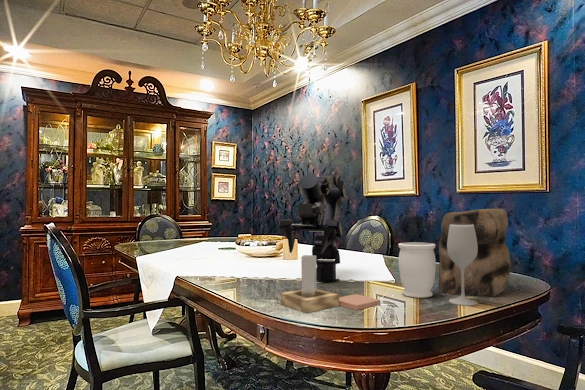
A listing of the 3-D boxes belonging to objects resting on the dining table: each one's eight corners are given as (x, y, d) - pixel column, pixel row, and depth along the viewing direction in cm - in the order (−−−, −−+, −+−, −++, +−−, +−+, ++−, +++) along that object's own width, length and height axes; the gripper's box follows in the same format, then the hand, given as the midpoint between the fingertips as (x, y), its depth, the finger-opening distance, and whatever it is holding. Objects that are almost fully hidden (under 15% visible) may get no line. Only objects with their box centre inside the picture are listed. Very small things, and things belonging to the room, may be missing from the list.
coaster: (355, 298, 112) (355, 294, 112) (380, 304, 105) (380, 299, 105) (332, 303, 107) (332, 298, 107) (356, 310, 100) (356, 305, 100)
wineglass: (482, 306, 102) (480, 225, 103) (450, 305, 104) (449, 225, 104) (474, 299, 110) (473, 223, 110) (445, 298, 111) (444, 223, 112)
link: (304, 303, 107) (303, 255, 108) (316, 303, 107) (316, 255, 107) (301, 306, 104) (301, 256, 104) (314, 307, 103) (314, 257, 104)
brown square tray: (311, 298, 113) (311, 287, 113) (338, 305, 104) (338, 294, 104) (280, 304, 106) (280, 293, 106) (306, 313, 98) (306, 300, 98)
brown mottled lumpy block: (508, 300, 108) (506, 209, 109) (432, 292, 119) (430, 209, 120) (514, 287, 125) (512, 208, 125) (446, 281, 136) (445, 208, 136)
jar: (417, 300, 109) (416, 246, 109) (391, 293, 118) (390, 243, 118) (444, 296, 114) (443, 244, 114) (417, 289, 123) (417, 241, 123)
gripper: (278, 193, 121) (267, 236, 111) (339, 192, 115) (332, 237, 105) (288, 215, 129) (278, 257, 119) (345, 215, 123) (339, 259, 113)
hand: (305, 252), depth 114 cm, fingers open, 9 cm apart
